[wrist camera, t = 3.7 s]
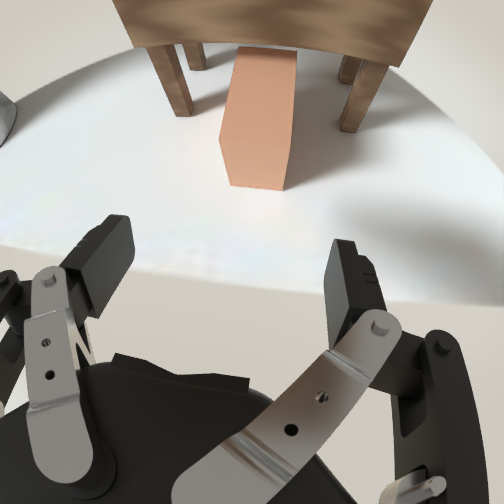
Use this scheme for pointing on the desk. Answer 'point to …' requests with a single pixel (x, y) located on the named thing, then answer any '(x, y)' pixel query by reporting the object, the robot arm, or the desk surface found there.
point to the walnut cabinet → (277, 37)
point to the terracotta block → (259, 118)
